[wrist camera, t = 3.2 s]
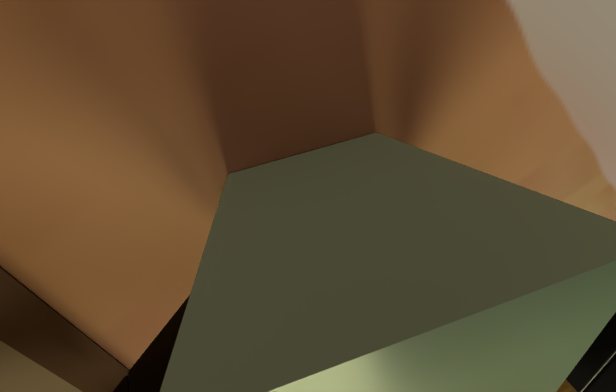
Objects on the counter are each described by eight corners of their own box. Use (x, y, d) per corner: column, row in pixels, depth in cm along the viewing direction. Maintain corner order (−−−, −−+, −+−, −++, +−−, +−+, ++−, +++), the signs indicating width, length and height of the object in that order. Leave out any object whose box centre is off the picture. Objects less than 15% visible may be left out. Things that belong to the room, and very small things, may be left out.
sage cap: (383, 245, 11) (531, 425, 5) (273, 281, 10) (297, 527, 5) (376, 132, 8) (667, 240, 2) (228, 174, 8) (144, 437, 2)
